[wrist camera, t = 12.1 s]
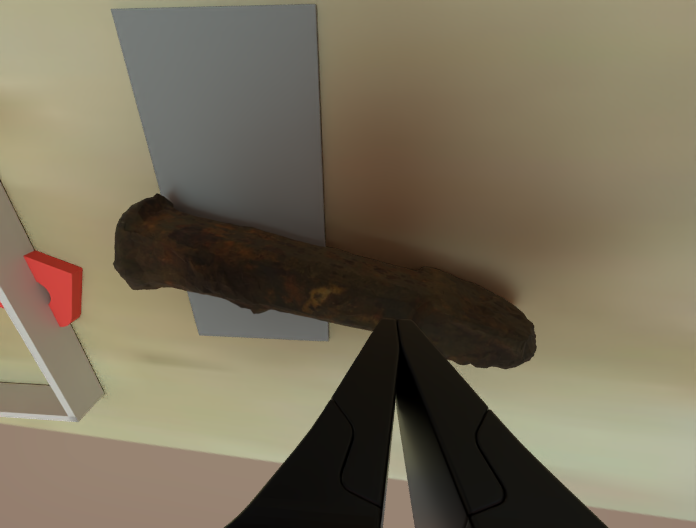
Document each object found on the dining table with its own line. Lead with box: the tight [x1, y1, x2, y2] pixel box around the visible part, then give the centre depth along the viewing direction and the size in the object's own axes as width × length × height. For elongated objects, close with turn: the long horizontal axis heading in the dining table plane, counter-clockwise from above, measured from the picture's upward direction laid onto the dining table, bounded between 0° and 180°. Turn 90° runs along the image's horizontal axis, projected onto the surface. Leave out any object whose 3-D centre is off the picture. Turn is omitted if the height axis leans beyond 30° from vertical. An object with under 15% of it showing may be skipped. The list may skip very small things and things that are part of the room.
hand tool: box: [113, 194, 537, 369], centre depth 15 cm, size 19×4×5 cm, turn 75°
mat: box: [111, 4, 329, 341], centre depth 16 cm, size 8×16×1 cm, turn 0°
